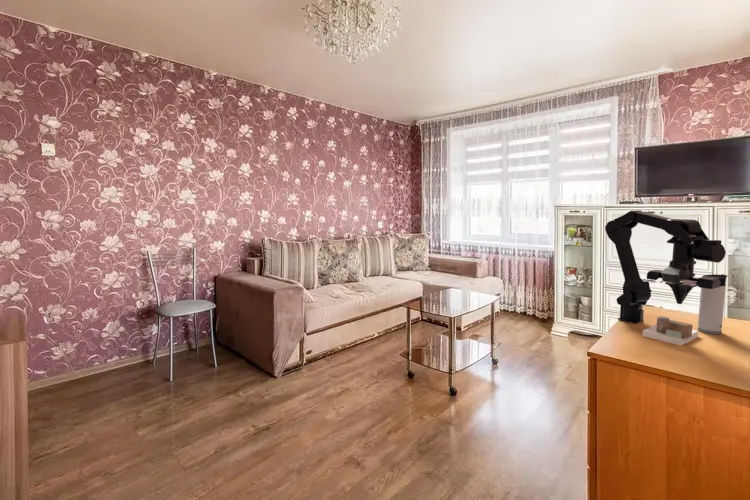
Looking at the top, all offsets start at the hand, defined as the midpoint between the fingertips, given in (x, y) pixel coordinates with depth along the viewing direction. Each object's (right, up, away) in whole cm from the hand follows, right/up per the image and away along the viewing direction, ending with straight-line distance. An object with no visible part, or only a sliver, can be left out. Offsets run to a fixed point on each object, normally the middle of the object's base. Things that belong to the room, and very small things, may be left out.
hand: (679, 303), depth 128 cm
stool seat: (-2, -11, +1) cm, 11 cm away
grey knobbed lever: (-5, -9, -3) cm, 11 cm away
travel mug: (+14, -10, +4) cm, 18 cm away
